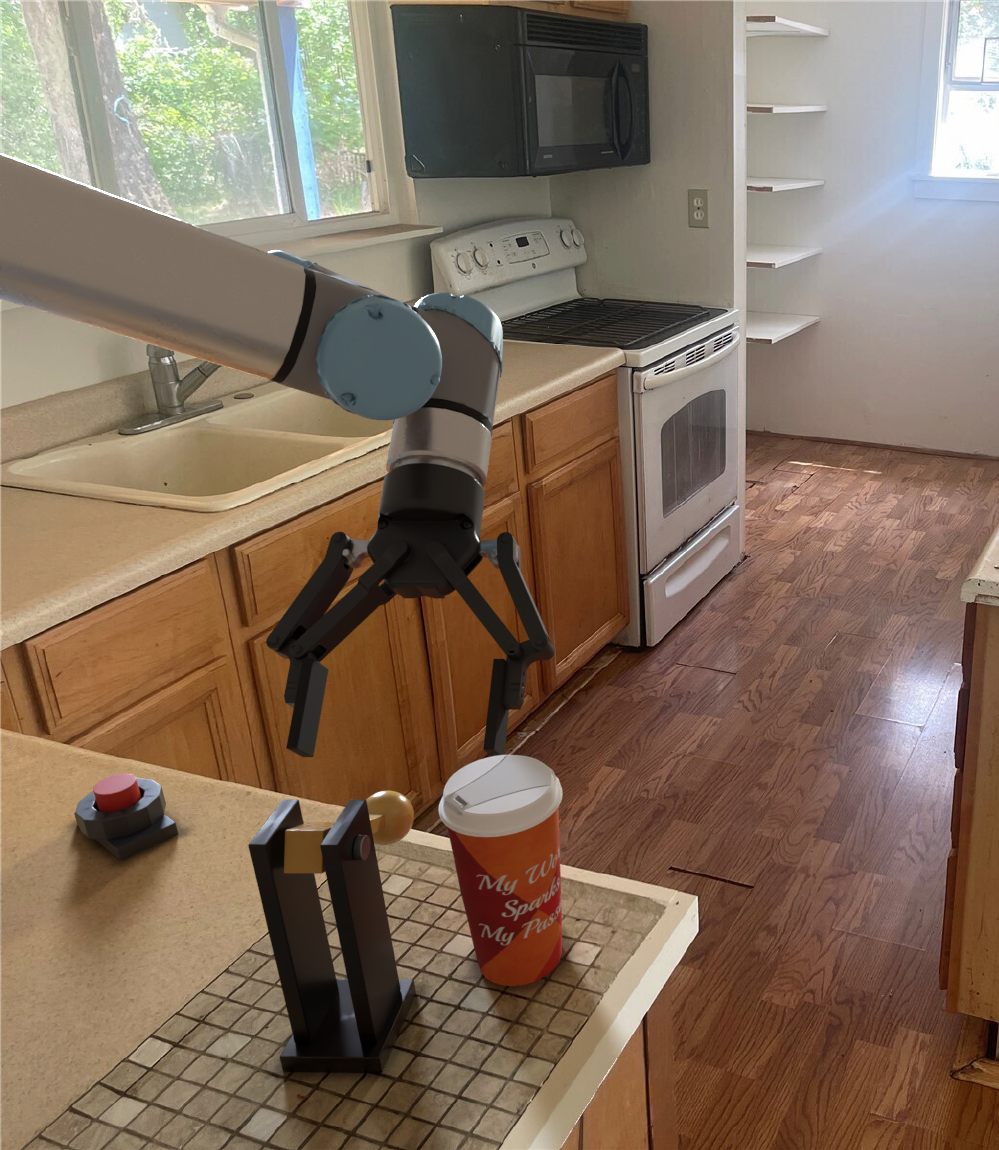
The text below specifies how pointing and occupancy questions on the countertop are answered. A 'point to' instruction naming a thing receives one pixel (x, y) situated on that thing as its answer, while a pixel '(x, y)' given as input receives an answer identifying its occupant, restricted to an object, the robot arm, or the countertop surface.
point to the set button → (116, 792)
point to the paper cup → (508, 863)
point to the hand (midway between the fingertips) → (396, 754)
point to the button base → (128, 822)
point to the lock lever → (303, 841)
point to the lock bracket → (301, 949)
